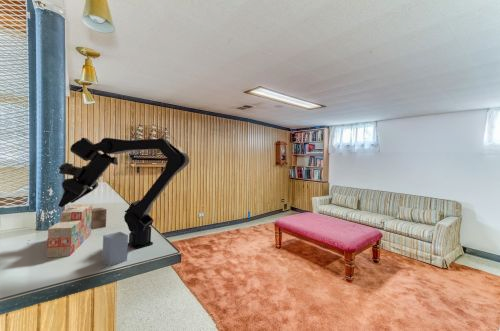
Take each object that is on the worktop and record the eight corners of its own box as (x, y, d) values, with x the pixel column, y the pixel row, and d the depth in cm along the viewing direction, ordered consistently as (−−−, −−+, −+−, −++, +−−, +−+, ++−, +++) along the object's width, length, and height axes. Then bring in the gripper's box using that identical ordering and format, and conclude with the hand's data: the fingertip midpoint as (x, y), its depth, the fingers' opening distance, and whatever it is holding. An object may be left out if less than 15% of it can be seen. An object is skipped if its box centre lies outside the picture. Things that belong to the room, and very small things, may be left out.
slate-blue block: (119, 256, 73) (120, 231, 73) (126, 260, 71) (128, 235, 70) (102, 261, 69) (103, 235, 69) (109, 266, 66) (110, 239, 66)
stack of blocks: (70, 256, 72) (72, 218, 71) (46, 258, 69) (47, 218, 69) (91, 234, 92) (92, 204, 91) (72, 235, 89) (73, 204, 89)
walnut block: (101, 224, 105) (101, 207, 105) (105, 226, 102) (106, 209, 102) (88, 226, 101) (89, 209, 101) (93, 229, 98) (93, 211, 98)
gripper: (82, 155, 88) (54, 189, 85) (63, 153, 71) (26, 195, 68) (109, 172, 92) (82, 204, 88) (97, 173, 74) (63, 214, 71)
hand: (65, 204), depth 79 cm, fingers open, 9 cm apart
